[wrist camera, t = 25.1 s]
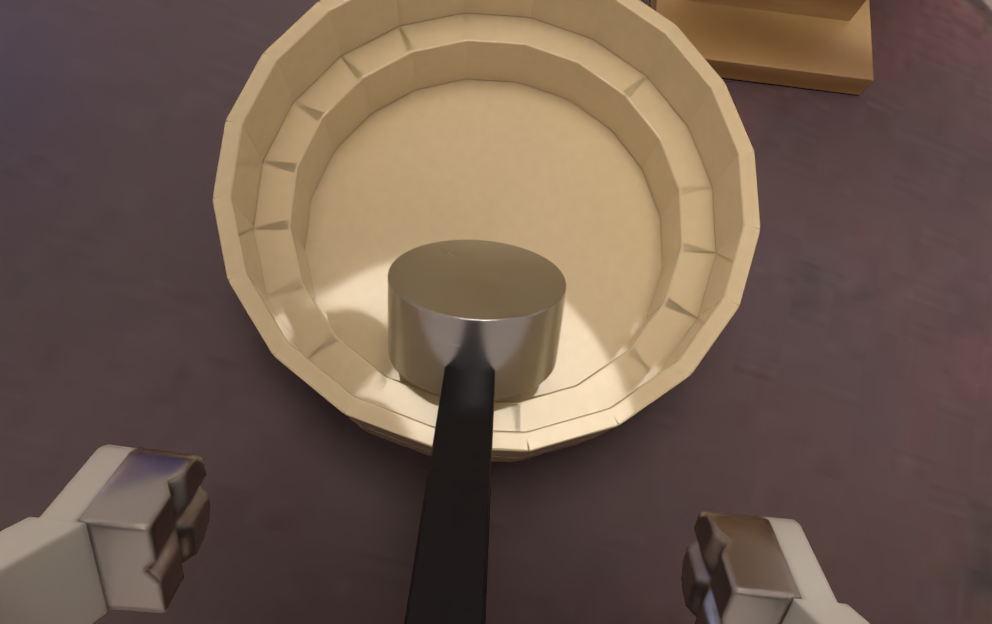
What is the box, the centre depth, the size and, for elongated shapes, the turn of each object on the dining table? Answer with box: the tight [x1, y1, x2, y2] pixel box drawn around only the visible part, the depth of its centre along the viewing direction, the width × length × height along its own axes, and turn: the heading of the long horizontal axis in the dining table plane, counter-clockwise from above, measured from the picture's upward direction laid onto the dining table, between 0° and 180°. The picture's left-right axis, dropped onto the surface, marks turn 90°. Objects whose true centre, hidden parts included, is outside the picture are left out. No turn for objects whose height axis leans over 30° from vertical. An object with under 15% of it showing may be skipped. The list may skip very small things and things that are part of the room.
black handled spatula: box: [388, 240, 566, 624], centre depth 17 cm, size 22×6×3 cm
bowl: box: [213, 0, 760, 462], centre depth 26 cm, size 18×18×6 cm
